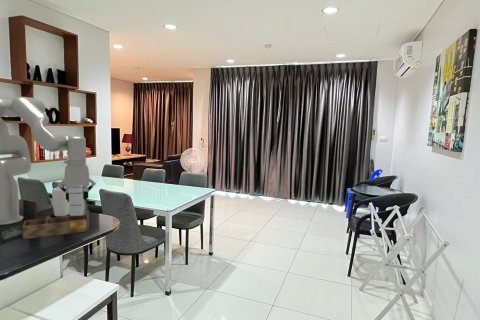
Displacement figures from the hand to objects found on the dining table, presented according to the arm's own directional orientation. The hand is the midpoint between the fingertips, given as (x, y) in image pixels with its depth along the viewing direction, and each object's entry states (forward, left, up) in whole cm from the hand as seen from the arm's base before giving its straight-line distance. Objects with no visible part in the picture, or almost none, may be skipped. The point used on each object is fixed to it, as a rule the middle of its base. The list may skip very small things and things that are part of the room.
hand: (77, 200), depth 140 cm
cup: (-18, +19, -14) cm, 30 cm away
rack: (-7, -4, -14) cm, 16 cm away
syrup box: (0, 0, -7) cm, 7 cm away
